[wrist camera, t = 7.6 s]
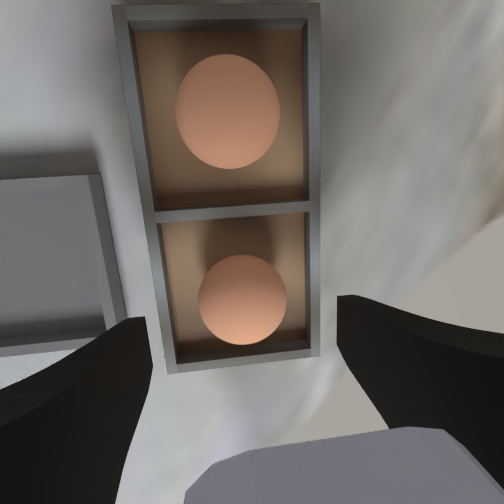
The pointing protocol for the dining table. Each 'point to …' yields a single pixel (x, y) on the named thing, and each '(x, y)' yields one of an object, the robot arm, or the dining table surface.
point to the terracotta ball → (242, 299)
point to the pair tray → (226, 171)
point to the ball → (227, 111)
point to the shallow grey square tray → (56, 265)
